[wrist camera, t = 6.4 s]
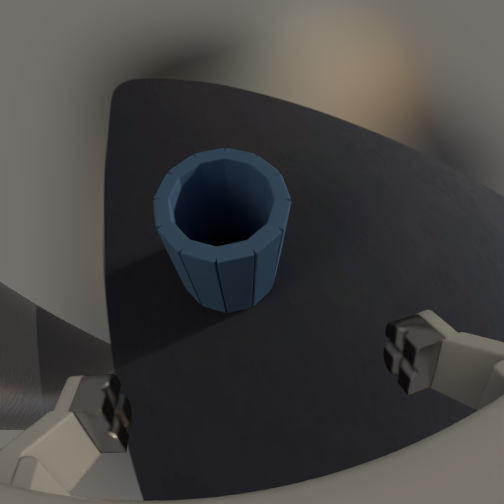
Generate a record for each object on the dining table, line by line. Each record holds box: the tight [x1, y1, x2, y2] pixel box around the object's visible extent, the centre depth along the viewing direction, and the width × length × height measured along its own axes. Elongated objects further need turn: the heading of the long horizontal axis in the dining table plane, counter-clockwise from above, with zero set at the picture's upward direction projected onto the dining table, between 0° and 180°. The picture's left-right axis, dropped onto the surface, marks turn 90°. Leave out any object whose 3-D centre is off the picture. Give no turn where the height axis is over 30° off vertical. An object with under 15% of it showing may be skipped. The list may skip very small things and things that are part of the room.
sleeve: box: [153, 148, 291, 313], centre depth 19 cm, size 6×6×8 cm
